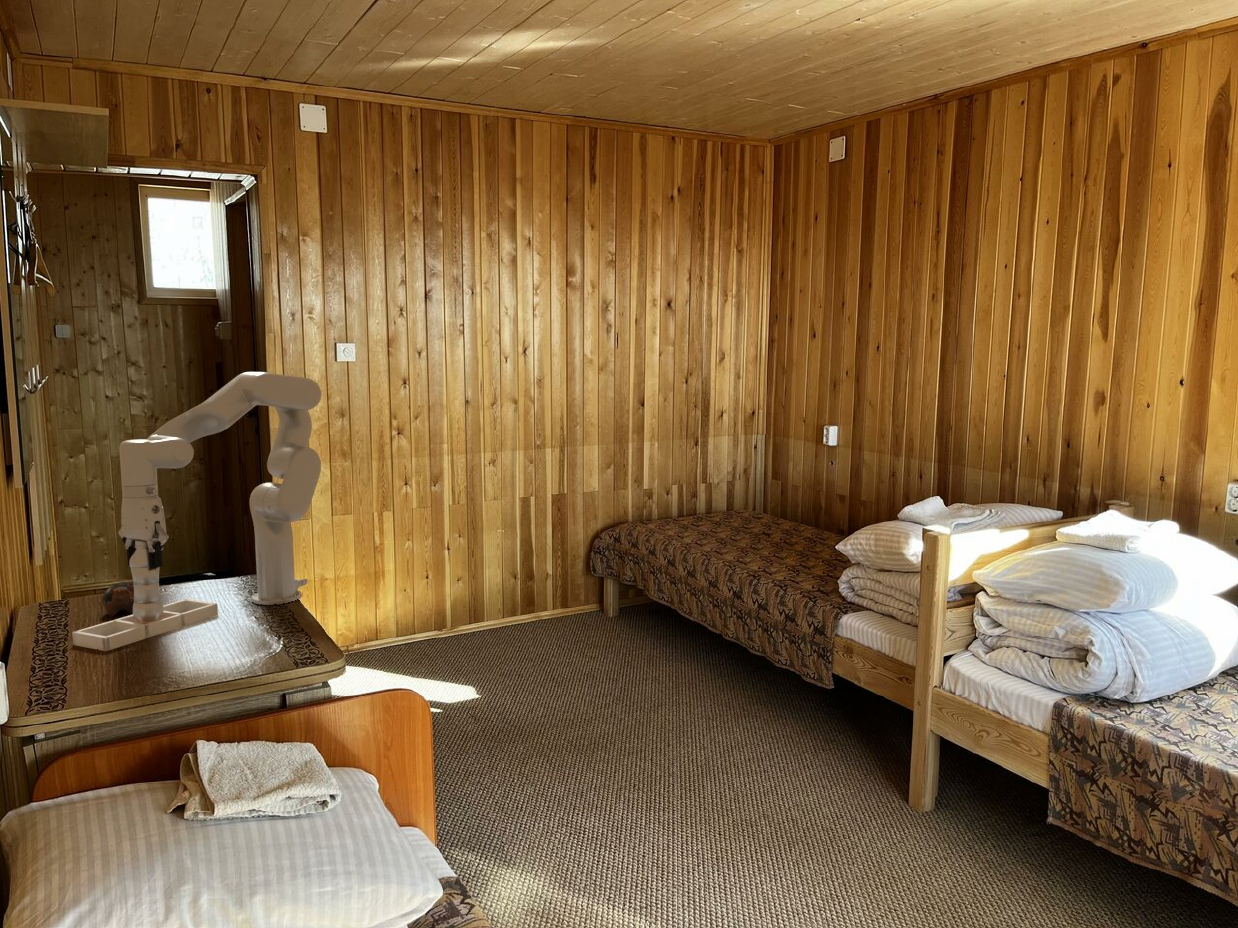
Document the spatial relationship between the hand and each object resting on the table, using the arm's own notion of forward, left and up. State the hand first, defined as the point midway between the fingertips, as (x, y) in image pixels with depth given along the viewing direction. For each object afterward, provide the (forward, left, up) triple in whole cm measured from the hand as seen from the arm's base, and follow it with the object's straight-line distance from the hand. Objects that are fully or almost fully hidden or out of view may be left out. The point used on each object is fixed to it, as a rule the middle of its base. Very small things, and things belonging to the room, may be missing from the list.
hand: (145, 565), depth 221 cm
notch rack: (0, 0, -16) cm, 16 cm away
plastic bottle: (0, 0, -14) cm, 14 cm away
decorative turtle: (-8, -19, -16) cm, 26 cm away
